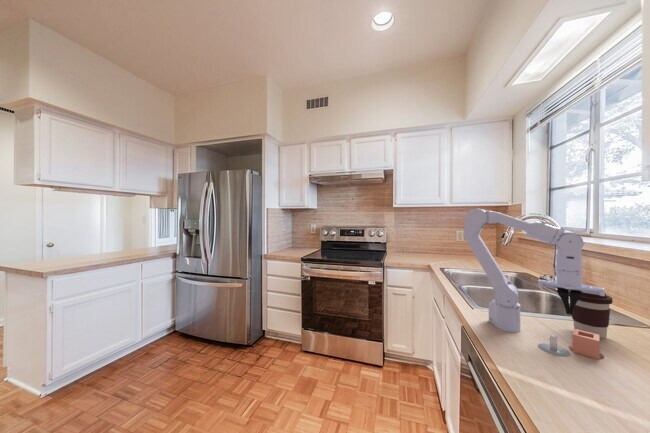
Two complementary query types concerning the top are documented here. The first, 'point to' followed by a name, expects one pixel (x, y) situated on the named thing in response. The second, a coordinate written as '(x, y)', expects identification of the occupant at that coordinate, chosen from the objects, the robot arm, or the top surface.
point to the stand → (554, 348)
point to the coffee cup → (592, 313)
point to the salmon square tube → (586, 343)
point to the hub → (585, 355)
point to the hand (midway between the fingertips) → (569, 313)
